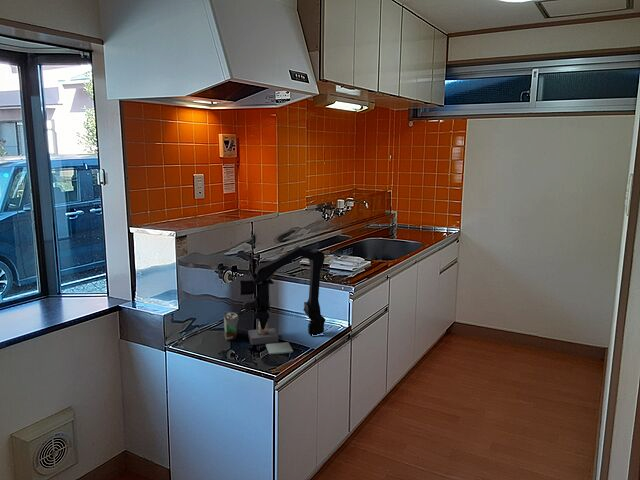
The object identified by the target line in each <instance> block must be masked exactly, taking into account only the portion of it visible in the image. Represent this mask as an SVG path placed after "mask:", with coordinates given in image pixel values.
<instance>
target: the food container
mask: <svg viewBox="0 0 640 480" xmlns="http://www.w3.org/2000/svg"><path fill="white" fill-rule="evenodd" d="M239 320H240V318H239V316H238V314H237V313H236V312H232V311H223V329H224V330H223V332H224V333H223V334H224V337H225V340H226V341H233V340H235V339H236V338H237V334H238V322H239Z"/></svg>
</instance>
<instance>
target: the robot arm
mask: <svg viewBox="0 0 640 480" xmlns="http://www.w3.org/2000/svg"><path fill="white" fill-rule="evenodd" d="M298 258H305V259H308V263H309V267H310V268H309V269H310V275H309V276H310V277H309V289H308V290H309V291H308V292H309V293H308V299H307V301H304V302H303V306H304V307H303V311H304V314H305V315H306V316H307V318H309V320H308V324H307V333H308V335H310V337H311V336H312V334H313V335H317V334H320V333H322V332H324V333H325V323H326V318H325V317H324V316H323V315H322V313H321V306H320V302H319V297H320V296H319V294H320V284H321V283H320V281H321V270H322V268H323V266H324V263H325V262H324V261H325V258H326V256H325V253H324V252H323V251H321V250H320V249H318V248H312V249H310V248H306V247H302V246H299V245H298V246H295V247H294V248H293V249H291V250H289V251H288V252H286V253H284V254H282V255H280V256H279V257H277V258H275V259H273V260H270V261H267V262H263V263H261V264H259V265H257V266H256V267H255V270H254V273H253V274H252V276H251V277H250V279H239V283H238V293H239V294H238V295H239V296H249V295H251V296H252V295H254V294H255V293H256V295H255V298H251V299H248V300H245V301H244V302H243V304H242V305H243V306H242V307H243V309H244V311H245V312H248V311H250V310H252V309H253V310H254V309H255V310H256V311H254V319H255V320H258V322H259V321H260V325H261V329H264V328H265V326H266V323H267V322H268V320H269V319H270V317H271V315H270V314H271V301H270V285H274V284H275V282H274V281H273V280H272V279H271V277H272V276H274V274H275V273H276V271H278V270H280V269H281V268H284V266H285V267H286V265H288V264H290V263H292V262H293V261H296V260H297V259H298Z"/></svg>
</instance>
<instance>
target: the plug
mask: <svg viewBox="0 0 640 480" xmlns="http://www.w3.org/2000/svg"><path fill="white" fill-rule="evenodd" d="M257 326H258V329H259V335H268V329H269V328H268V321H267V323H266V326H265V328H264V329H261V325H260V321H259V320H258V325H257Z"/></svg>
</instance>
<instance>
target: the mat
mask: <svg viewBox="0 0 640 480" xmlns="http://www.w3.org/2000/svg"><path fill="white" fill-rule="evenodd" d="M265 347H266V349H267V352H268V354H269V355H280V354H289V353H291V354H292V353H294V349H293V348H292V346H291V344H290V343H289V341H287V342H286V341H285V342H278V343H268V344H265Z"/></svg>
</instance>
